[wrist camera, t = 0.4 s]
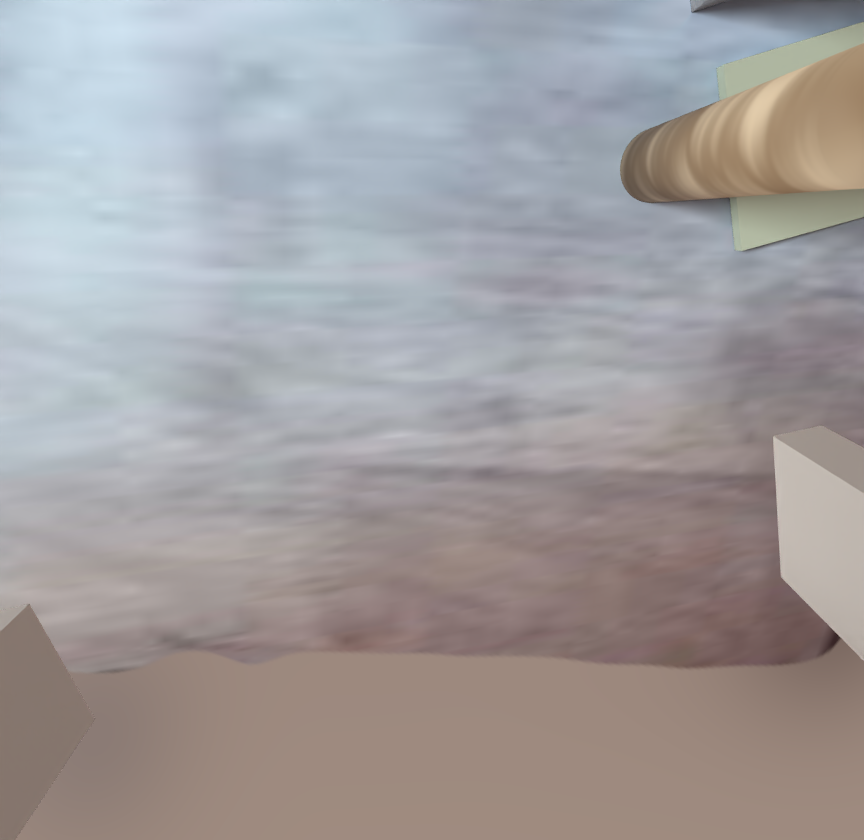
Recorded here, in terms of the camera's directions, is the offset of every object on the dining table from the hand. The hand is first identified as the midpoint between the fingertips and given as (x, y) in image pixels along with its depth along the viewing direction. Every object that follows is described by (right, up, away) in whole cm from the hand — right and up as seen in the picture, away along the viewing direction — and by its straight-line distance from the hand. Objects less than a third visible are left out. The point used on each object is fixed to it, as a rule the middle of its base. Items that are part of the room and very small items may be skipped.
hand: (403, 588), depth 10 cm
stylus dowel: (+13, +18, +23) cm, 32 cm away
